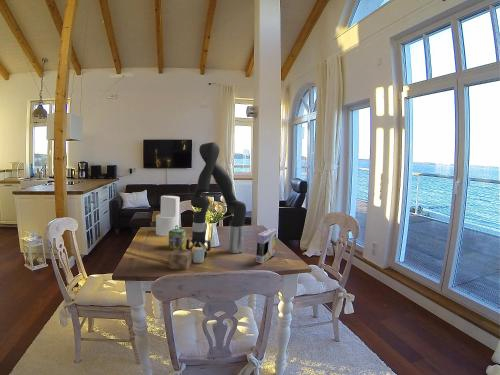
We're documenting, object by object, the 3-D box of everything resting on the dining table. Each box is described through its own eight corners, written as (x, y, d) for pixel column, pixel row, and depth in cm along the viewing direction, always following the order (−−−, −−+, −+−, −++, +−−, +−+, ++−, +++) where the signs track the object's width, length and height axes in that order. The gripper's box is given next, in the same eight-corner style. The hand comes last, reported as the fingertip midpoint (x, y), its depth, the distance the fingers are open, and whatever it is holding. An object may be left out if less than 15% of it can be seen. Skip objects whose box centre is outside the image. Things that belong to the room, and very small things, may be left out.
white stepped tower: (168, 229, 262) (169, 195, 259) (183, 233, 252) (184, 197, 249) (151, 233, 248) (151, 196, 245) (165, 237, 238) (166, 199, 235)
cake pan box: (261, 265, 189) (263, 235, 187) (254, 263, 191) (255, 233, 189) (275, 256, 205) (277, 229, 203) (268, 255, 208) (270, 228, 206)
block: (203, 260, 192) (204, 248, 191) (201, 262, 187) (202, 251, 186) (195, 259, 192) (195, 248, 192) (193, 262, 188) (193, 250, 187)
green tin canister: (181, 249, 210) (182, 227, 208) (168, 248, 211) (168, 226, 209) (186, 245, 219) (186, 224, 218) (172, 244, 220) (173, 223, 218)
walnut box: (191, 263, 185) (191, 250, 184) (186, 269, 175) (187, 255, 174) (174, 262, 186) (174, 248, 185) (168, 268, 176) (168, 254, 175)
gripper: (212, 229, 191) (211, 256, 193) (188, 227, 192) (187, 254, 194) (209, 232, 184) (208, 260, 185) (185, 230, 185) (184, 258, 186)
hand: (197, 256), depth 190 cm, fingers open, 8 cm apart
